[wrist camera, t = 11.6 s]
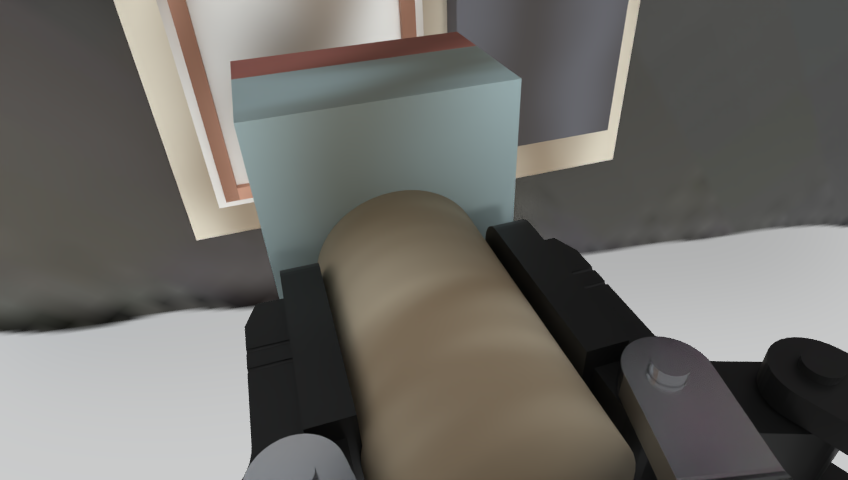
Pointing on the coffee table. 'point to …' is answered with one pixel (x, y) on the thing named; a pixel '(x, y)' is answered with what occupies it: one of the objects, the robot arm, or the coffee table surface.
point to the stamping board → (359, 24)
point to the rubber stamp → (418, 257)
